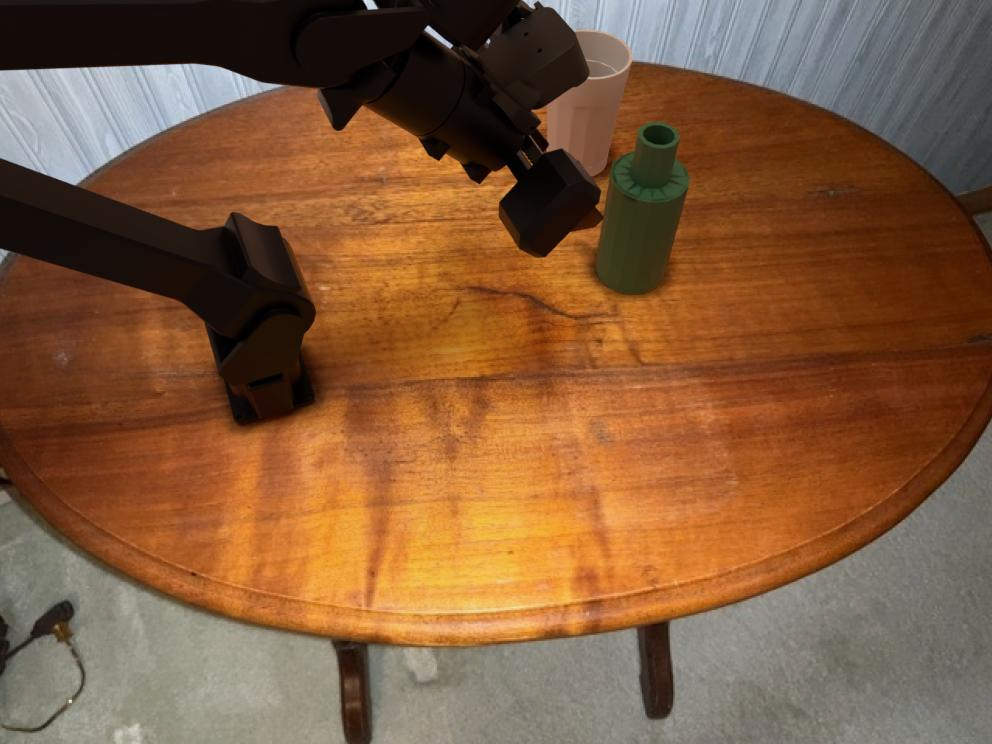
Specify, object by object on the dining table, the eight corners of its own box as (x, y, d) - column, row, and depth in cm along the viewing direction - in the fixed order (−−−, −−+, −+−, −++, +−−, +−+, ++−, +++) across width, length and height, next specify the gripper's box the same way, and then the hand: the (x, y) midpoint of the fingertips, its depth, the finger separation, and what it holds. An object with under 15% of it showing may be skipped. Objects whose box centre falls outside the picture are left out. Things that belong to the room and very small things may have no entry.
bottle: (582, 273, 75) (602, 139, 63) (617, 234, 78) (643, 99, 66) (642, 305, 73) (675, 172, 61) (676, 263, 76) (714, 129, 64)
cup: (571, 194, 82) (583, 89, 72) (522, 152, 85) (528, 47, 76) (630, 164, 85) (650, 59, 75) (581, 125, 88) (594, 20, 79)
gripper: (589, 73, 44) (715, 181, 56) (457, -81, 54) (587, 38, 66) (456, 221, 48) (599, 293, 60) (357, 53, 58) (496, 142, 70)
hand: (570, 183), depth 64 cm, fingers open, 9 cm apart
